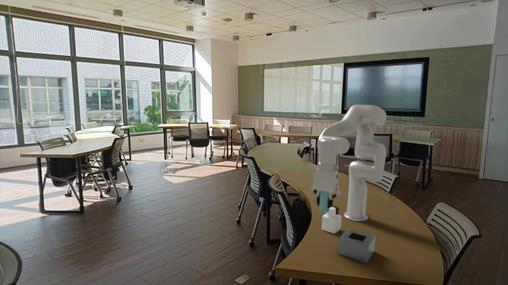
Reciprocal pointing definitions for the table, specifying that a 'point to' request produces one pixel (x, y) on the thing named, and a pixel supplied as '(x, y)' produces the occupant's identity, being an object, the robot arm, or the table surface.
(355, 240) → the socket
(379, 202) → the table surface
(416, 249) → the table surface
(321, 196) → the plug
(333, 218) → the medicine bottle
